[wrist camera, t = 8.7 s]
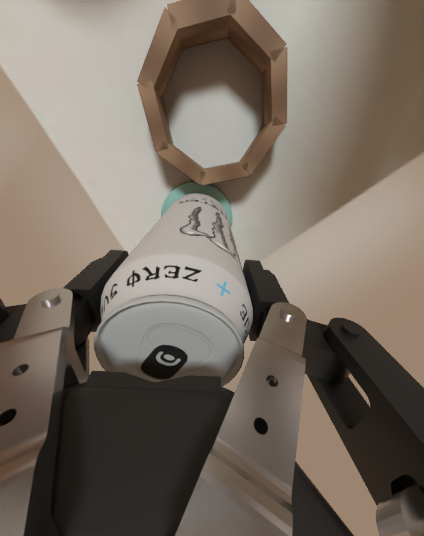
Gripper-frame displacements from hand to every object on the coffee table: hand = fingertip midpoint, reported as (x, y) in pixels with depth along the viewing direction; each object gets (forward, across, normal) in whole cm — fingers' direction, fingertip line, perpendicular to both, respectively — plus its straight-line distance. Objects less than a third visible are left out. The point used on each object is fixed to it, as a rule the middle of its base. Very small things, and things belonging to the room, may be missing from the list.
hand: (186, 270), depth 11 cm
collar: (+10, -1, -9) cm, 13 cm away
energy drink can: (+10, 0, 0) cm, 10 cm away
